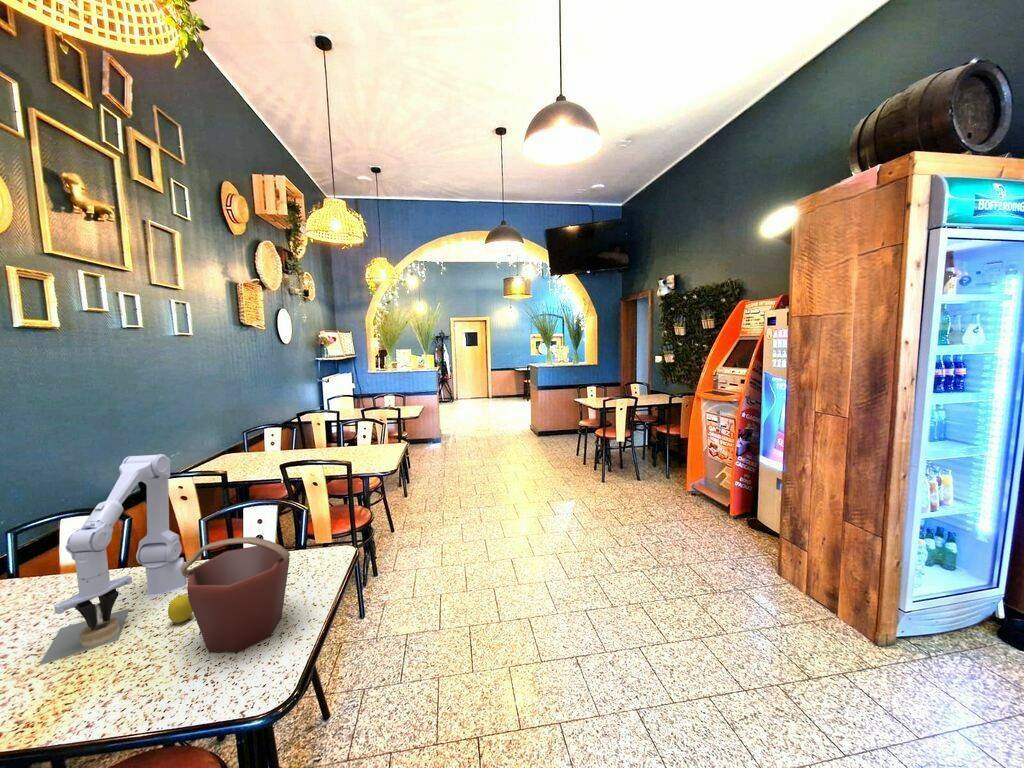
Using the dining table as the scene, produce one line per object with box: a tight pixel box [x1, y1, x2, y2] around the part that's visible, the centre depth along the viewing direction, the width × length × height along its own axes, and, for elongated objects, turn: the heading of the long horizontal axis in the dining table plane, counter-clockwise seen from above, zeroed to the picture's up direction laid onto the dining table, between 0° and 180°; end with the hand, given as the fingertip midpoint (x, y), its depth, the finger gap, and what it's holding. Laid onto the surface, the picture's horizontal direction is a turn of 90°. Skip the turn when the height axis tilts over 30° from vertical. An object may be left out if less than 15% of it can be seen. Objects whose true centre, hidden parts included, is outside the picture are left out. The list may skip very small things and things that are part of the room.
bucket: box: [181, 536, 291, 654], centre depth 109 cm, size 24×22×25 cm
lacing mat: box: [38, 607, 130, 666], centre depth 109 cm, size 14×17×1 cm
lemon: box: [167, 594, 193, 624], centre depth 114 cm, size 6×6×8 cm
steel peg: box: [94, 602, 105, 631], centre depth 108 cm, size 2×2×8 cm
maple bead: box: [80, 618, 120, 647], centre depth 108 cm, size 7×7×3 cm
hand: (99, 623), depth 108 cm, fingers open, 2 cm apart
